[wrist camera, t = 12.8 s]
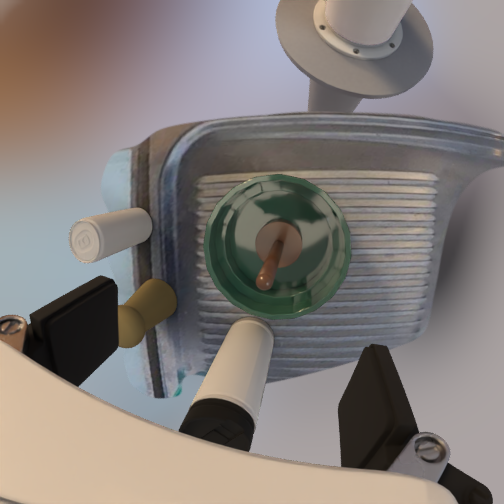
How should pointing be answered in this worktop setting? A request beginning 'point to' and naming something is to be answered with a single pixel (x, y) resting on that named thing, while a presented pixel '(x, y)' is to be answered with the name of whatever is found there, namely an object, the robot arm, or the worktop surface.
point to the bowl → (249, 263)
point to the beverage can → (108, 233)
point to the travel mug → (233, 387)
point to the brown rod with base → (276, 249)
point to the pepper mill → (144, 311)
